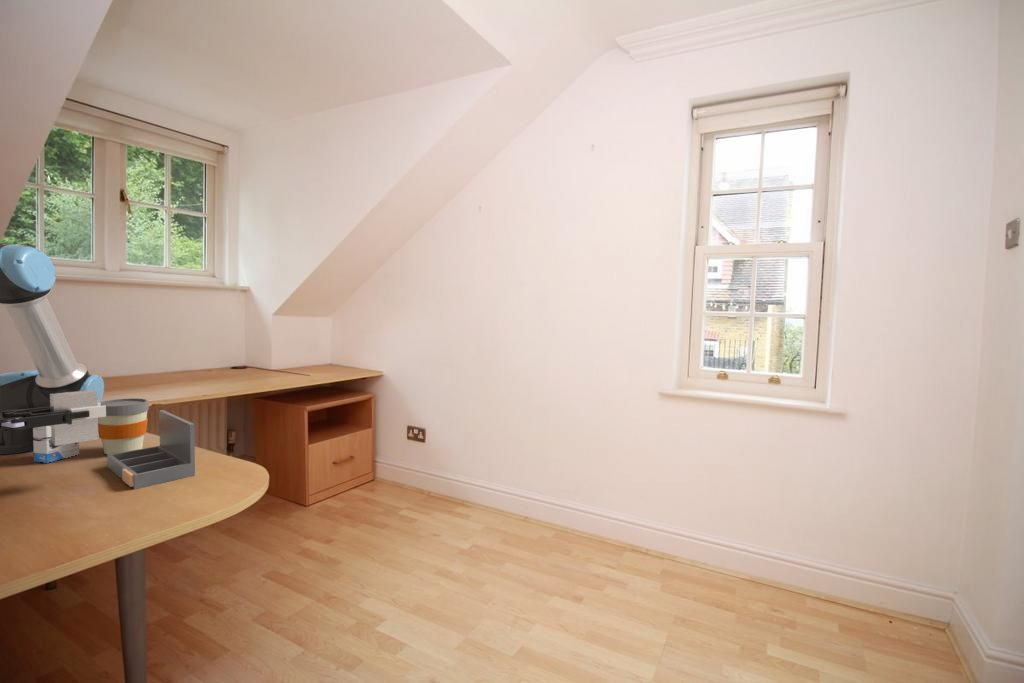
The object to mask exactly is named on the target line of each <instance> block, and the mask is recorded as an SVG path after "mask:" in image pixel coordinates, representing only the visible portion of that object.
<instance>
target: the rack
mask: <svg viewBox="0 0 1024 683" xmlns="http://www.w3.org/2000/svg"><path fill="white" fill-rule="evenodd" d="M158 416H159V418H158V420H159V422H158V423H159V427H158V428H159V445H155V446H152V447H143V448H142V449H138V450H133V451H127V452H122V453H116V454H110V455H106V456H107V458H106V459H107V468H108V467H109V468H110V469H111V470H112V471H111V470H110V469H109V468H108V469H109V470H110V471H111V472H113V473H114V472H115V473H116V474H117V475H116V474H115V473H114V474H115V475H116V476H118V477H119V476H120V477H121V478H122V479H121V478H120V477H119V478H120V479H121V480H122V482H124V483H125V484H126V485H128V486H129V487H130V488H133V489H134V490H137V489H136V488H138V489H141V488H140V487H142V488H146V486H147V487H150V485H151V486H155V485H159V484H163V483H167V482H172V481H176V479H177V480H181V479H184V478H185V479H186V478H189V477H188V476H190V477H193V475H194V476H196V460H195V459H196V458H195V457H196V455H195V454H196V453H195V452H196V451H195V450H196V449H195V448H196V447H195V446H196V445H195V443H196V442H195V423H193V422H191V421H189V420H187V419H185V418H182V417H180V416H177V415H175V414H173V413H170V412H169V411H167V410H164V409H161V410H158Z"/></svg>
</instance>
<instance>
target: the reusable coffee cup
mask: <svg viewBox="0 0 1024 683" xmlns="http://www.w3.org/2000/svg"><path fill="white" fill-rule="evenodd" d="M99 403H101V406H106V417H98V439H101V443H102V448H103V449H102V450H103V453H104V454H103V455H105V454H107V455H110V454H116V453H122V452H127V451H133V450H138V449H143V447H144V446H143V444H144V438H145V434H146V433H147V428H148V421H149V418H148V411H149V409H150V407H149V401H148V399H146V398H133V397H132V398H130V397H129V398H118V399H109V400H103V401H100V402H99ZM107 455H106V456H107Z"/></svg>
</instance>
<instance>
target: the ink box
mask: <svg viewBox="0 0 1024 683" xmlns="http://www.w3.org/2000/svg"><path fill="white" fill-rule="evenodd" d="M33 445H34V450H33V462H34V461H35V462H34V463H40V462H43V464H50V463H49V462H51V463H54V462H57V460H58V461H61V460H60V459H62V460H65V459H68V457H69V458H72V457H71V456H73V457H76V456H75V455H77V456H79V455H80V442H77V443H70V444H64V445H57V446H55V445H54V444H53V443H52V438H51V426H43V427H36V428H33ZM78 454H79V455H78ZM64 458H65V459H64ZM53 461H54V462H53Z"/></svg>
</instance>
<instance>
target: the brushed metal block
mask: <svg viewBox="0 0 1024 683" xmlns="http://www.w3.org/2000/svg"><path fill="white" fill-rule="evenodd" d="M96 406H98V403H97V392H96V391H94V390H87V391H76V392H65V393H54V394H50V410H51V412H60V411H68V410H69V411H71V409H79V408H87V407H96ZM51 438H52V443H53V444H54V445H55V446H57V445H64V444H70V443H77V442H79V443H81V442H82V443H83V442H88V441H95V440H99V433H98V418H90V419H82V420H75V421H72V424H70V425H68V424H58V425H51Z"/></svg>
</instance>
